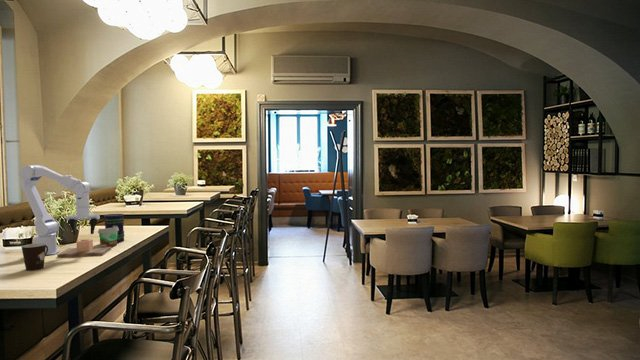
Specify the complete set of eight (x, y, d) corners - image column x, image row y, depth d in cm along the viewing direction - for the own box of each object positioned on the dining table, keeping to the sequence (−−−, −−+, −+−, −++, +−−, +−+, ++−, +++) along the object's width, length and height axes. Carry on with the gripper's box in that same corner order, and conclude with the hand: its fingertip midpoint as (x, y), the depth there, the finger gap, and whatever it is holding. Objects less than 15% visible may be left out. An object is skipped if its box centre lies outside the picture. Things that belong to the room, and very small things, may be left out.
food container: (109, 248, 229) (108, 229, 228) (98, 248, 230) (97, 229, 230) (124, 244, 241) (123, 225, 240) (114, 243, 242) (113, 225, 242)
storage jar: (128, 240, 253) (127, 213, 252) (116, 243, 243) (115, 216, 242) (113, 239, 255) (112, 213, 254) (101, 242, 245) (99, 215, 245)
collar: (76, 251, 215) (76, 241, 215) (80, 249, 220) (80, 239, 220) (89, 251, 216) (89, 241, 216) (92, 248, 221) (92, 238, 221)
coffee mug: (29, 272, 183) (27, 248, 182) (18, 269, 187) (17, 246, 187) (58, 266, 193) (57, 243, 192) (47, 263, 197) (46, 241, 197)
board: (57, 257, 210) (57, 254, 210) (68, 251, 224) (68, 248, 223) (102, 255, 213) (102, 252, 213) (111, 249, 227) (110, 246, 227)
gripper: (63, 207, 213) (64, 236, 213) (96, 207, 215) (97, 235, 216) (69, 206, 220) (70, 233, 220) (100, 205, 222) (101, 232, 223)
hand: (83, 234), depth 218 cm, fingers open, 7 cm apart
